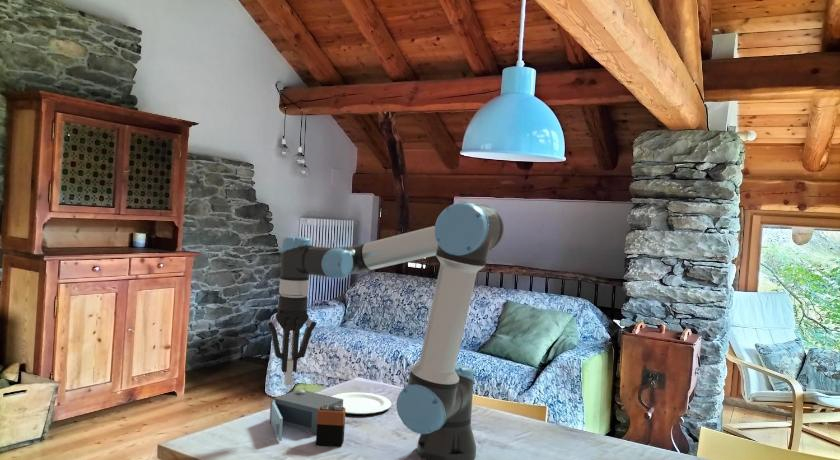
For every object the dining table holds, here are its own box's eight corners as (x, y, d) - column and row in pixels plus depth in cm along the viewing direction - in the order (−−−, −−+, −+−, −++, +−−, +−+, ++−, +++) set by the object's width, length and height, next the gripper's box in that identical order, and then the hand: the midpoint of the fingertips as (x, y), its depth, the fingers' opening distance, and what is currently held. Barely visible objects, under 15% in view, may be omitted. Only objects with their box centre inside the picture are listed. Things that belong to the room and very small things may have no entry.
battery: (341, 447, 153) (343, 409, 153) (315, 446, 153) (317, 407, 153) (344, 441, 157) (345, 403, 157) (318, 439, 157) (320, 402, 157)
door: (282, 441, 154) (283, 417, 154) (275, 442, 153) (277, 417, 153) (273, 422, 168) (274, 399, 168) (267, 422, 167) (268, 400, 167)
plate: (320, 398, 194) (320, 392, 194) (382, 395, 200) (382, 390, 200) (330, 420, 174) (330, 414, 174) (398, 416, 180) (399, 411, 180)
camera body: (348, 425, 169) (349, 397, 169) (324, 436, 160) (326, 407, 160) (297, 412, 178) (299, 386, 178) (272, 422, 168) (274, 395, 168)
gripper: (314, 293, 163) (309, 378, 163) (266, 292, 158) (260, 380, 158) (321, 297, 156) (315, 386, 157) (270, 297, 151) (264, 389, 152)
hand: (288, 383), depth 157 cm, fingers closed
